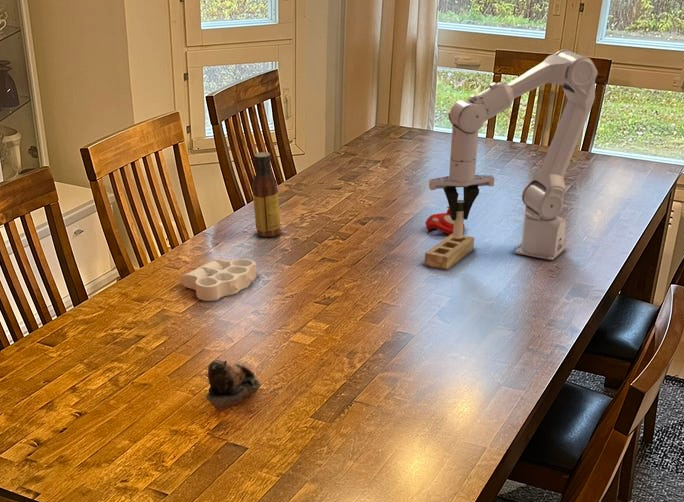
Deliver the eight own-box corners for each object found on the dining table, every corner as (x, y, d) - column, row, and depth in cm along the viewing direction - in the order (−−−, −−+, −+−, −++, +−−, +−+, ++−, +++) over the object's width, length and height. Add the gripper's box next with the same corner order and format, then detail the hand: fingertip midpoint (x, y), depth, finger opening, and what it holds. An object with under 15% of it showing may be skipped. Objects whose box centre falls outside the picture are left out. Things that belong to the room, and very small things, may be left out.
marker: (463, 236, 232) (466, 200, 227) (459, 239, 230) (462, 203, 225) (455, 234, 233) (457, 199, 228) (451, 237, 231) (453, 202, 226)
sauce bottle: (282, 229, 255) (279, 150, 243) (279, 238, 250) (276, 158, 238) (256, 229, 255) (252, 150, 244) (253, 238, 250) (249, 157, 239)
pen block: (473, 249, 241) (474, 237, 239) (446, 269, 231) (447, 257, 229) (451, 245, 244) (452, 233, 242) (424, 265, 234) (425, 252, 232)
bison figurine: (236, 383, 188) (233, 334, 183) (268, 391, 186) (265, 342, 180) (200, 411, 180) (195, 361, 174) (233, 420, 177) (229, 370, 171)
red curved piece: (470, 230, 248) (433, 224, 246) (464, 245, 251) (427, 239, 249) (461, 204, 256) (425, 197, 254) (455, 218, 259) (419, 212, 257)
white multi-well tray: (221, 265, 236) (270, 278, 229) (171, 291, 224) (222, 306, 217) (220, 251, 234) (270, 264, 227) (169, 277, 222) (221, 291, 215)
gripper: (490, 151, 225) (485, 210, 233) (427, 155, 224) (424, 214, 232) (499, 160, 219) (493, 221, 227) (434, 164, 218) (431, 225, 226)
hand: (459, 218), depth 229 cm, fingers closed on marker, 2 cm apart
